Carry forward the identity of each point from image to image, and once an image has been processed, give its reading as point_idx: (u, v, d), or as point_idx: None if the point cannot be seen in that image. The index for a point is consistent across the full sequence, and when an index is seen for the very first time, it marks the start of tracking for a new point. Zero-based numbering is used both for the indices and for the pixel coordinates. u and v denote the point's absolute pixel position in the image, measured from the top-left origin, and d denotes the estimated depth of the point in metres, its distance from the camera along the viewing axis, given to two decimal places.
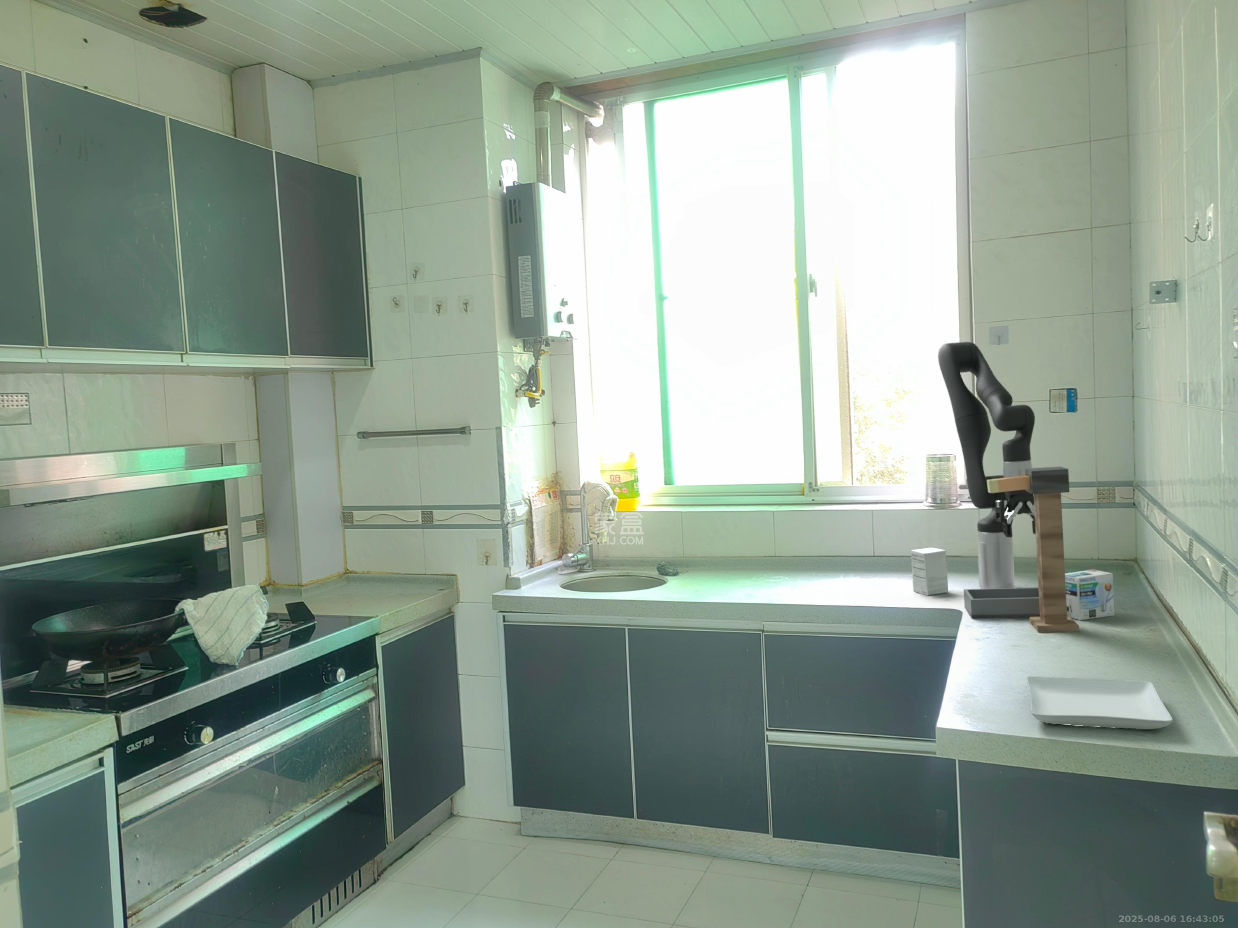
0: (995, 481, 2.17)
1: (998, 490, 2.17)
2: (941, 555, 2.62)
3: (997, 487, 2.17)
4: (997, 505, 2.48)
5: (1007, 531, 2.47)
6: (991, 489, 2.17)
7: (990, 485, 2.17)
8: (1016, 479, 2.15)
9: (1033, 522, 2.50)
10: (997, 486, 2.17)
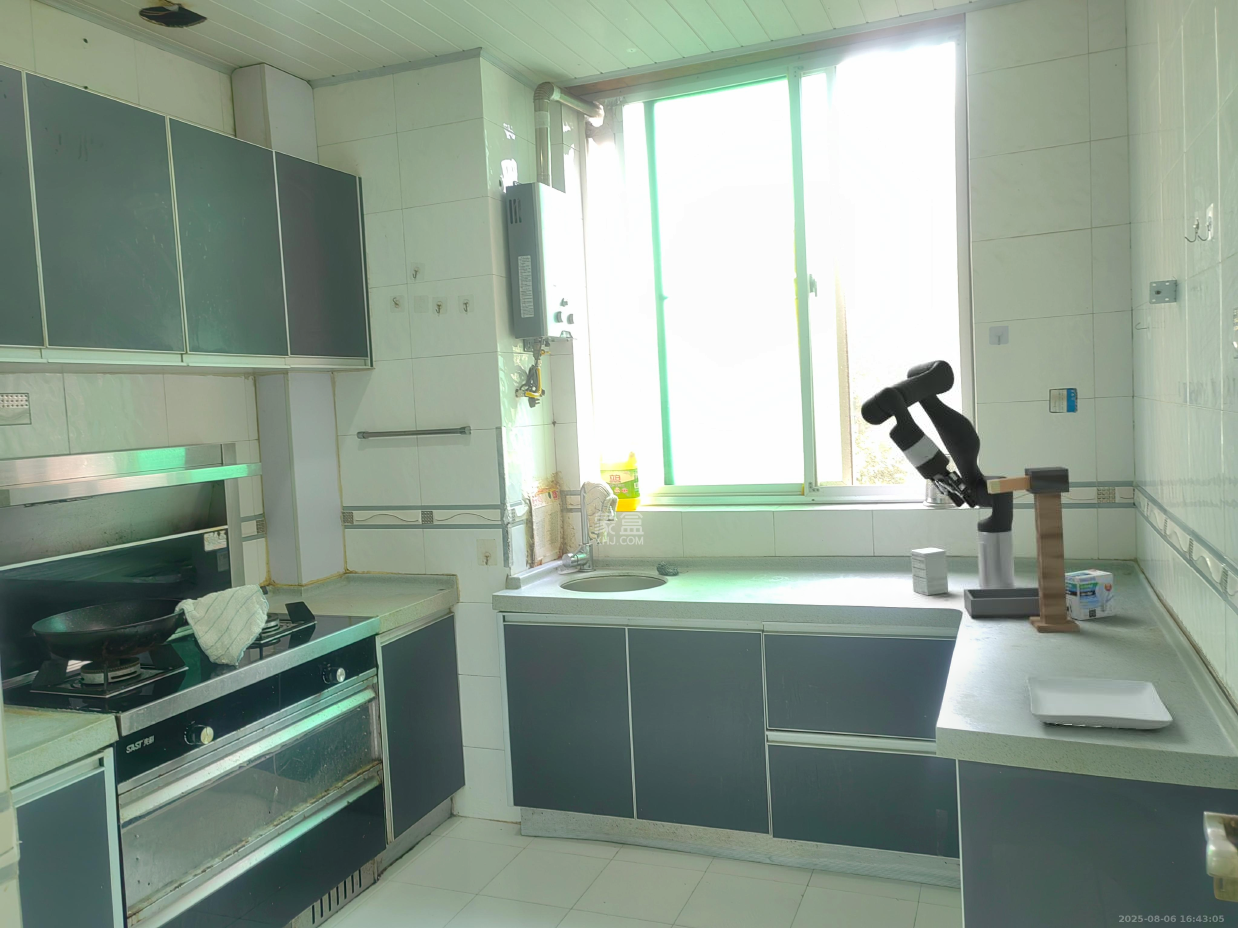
0: (996, 481, 2.15)
1: (999, 490, 2.15)
2: (941, 555, 2.62)
3: (998, 487, 2.15)
4: (954, 478, 2.16)
5: None
6: (993, 489, 2.16)
7: (992, 485, 2.16)
8: (1017, 479, 2.15)
9: (952, 496, 2.27)
10: (998, 486, 2.15)
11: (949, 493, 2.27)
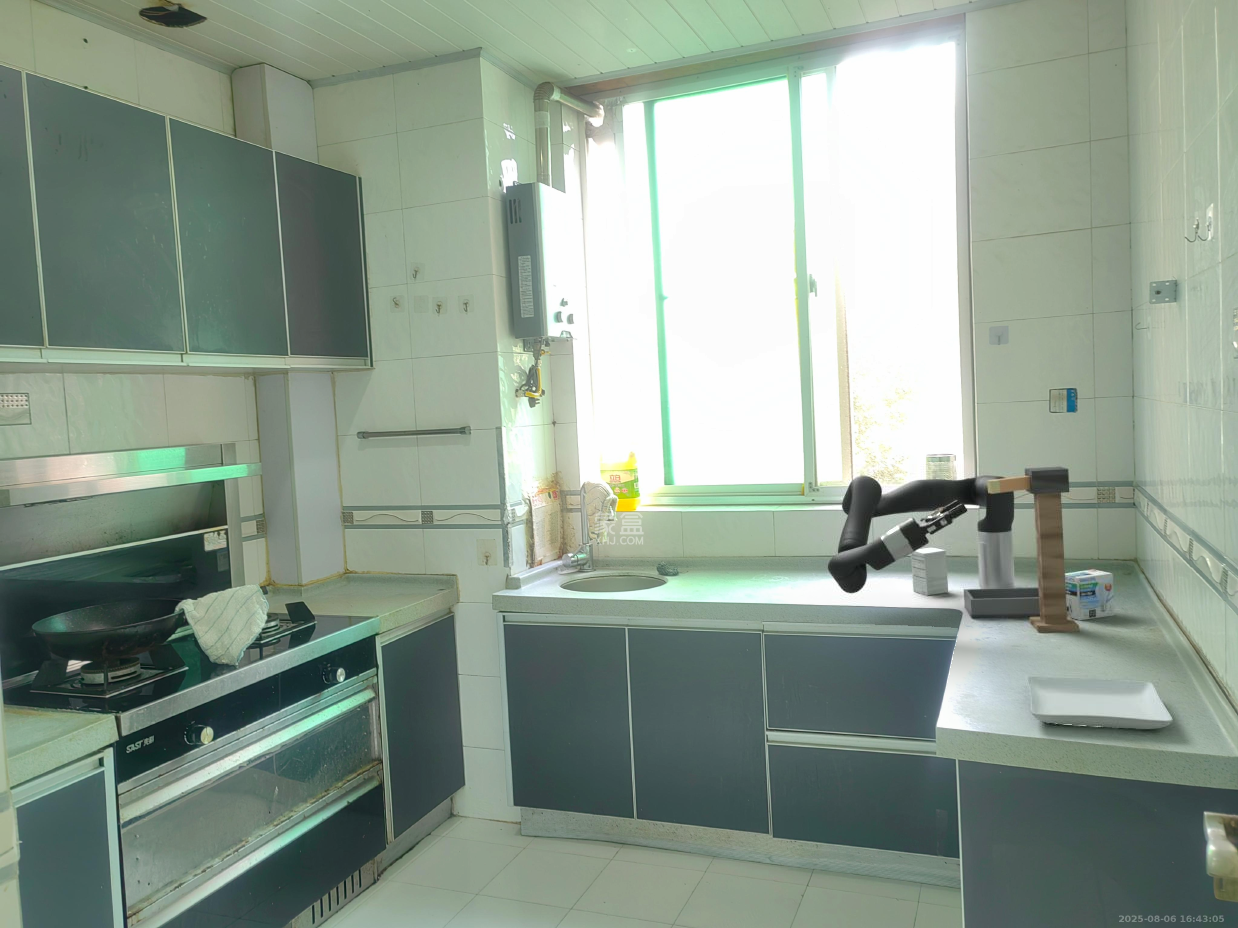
0: (996, 481, 2.15)
1: (999, 490, 2.15)
2: (941, 555, 2.62)
3: (998, 487, 2.15)
4: (933, 528, 2.15)
5: (957, 508, 2.16)
6: (993, 489, 2.16)
7: (992, 485, 2.16)
8: (1017, 479, 2.15)
9: (949, 511, 2.25)
10: (998, 486, 2.15)
11: None
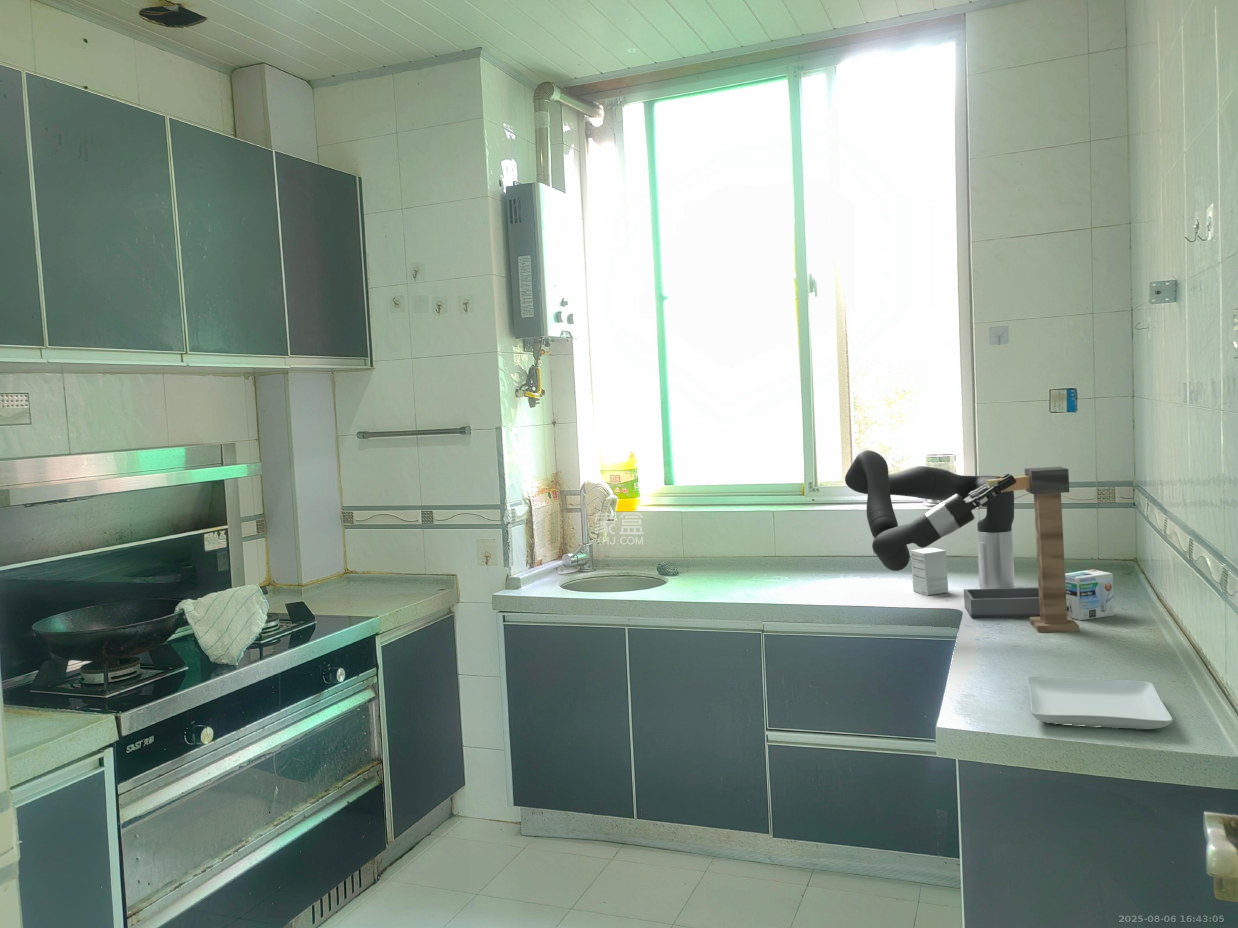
0: (995, 481, 2.17)
1: None
2: (941, 555, 2.62)
3: None
4: (986, 499, 2.13)
5: (1006, 479, 2.15)
6: None
7: (990, 485, 2.17)
8: (1016, 479, 2.15)
9: None
10: None
11: None
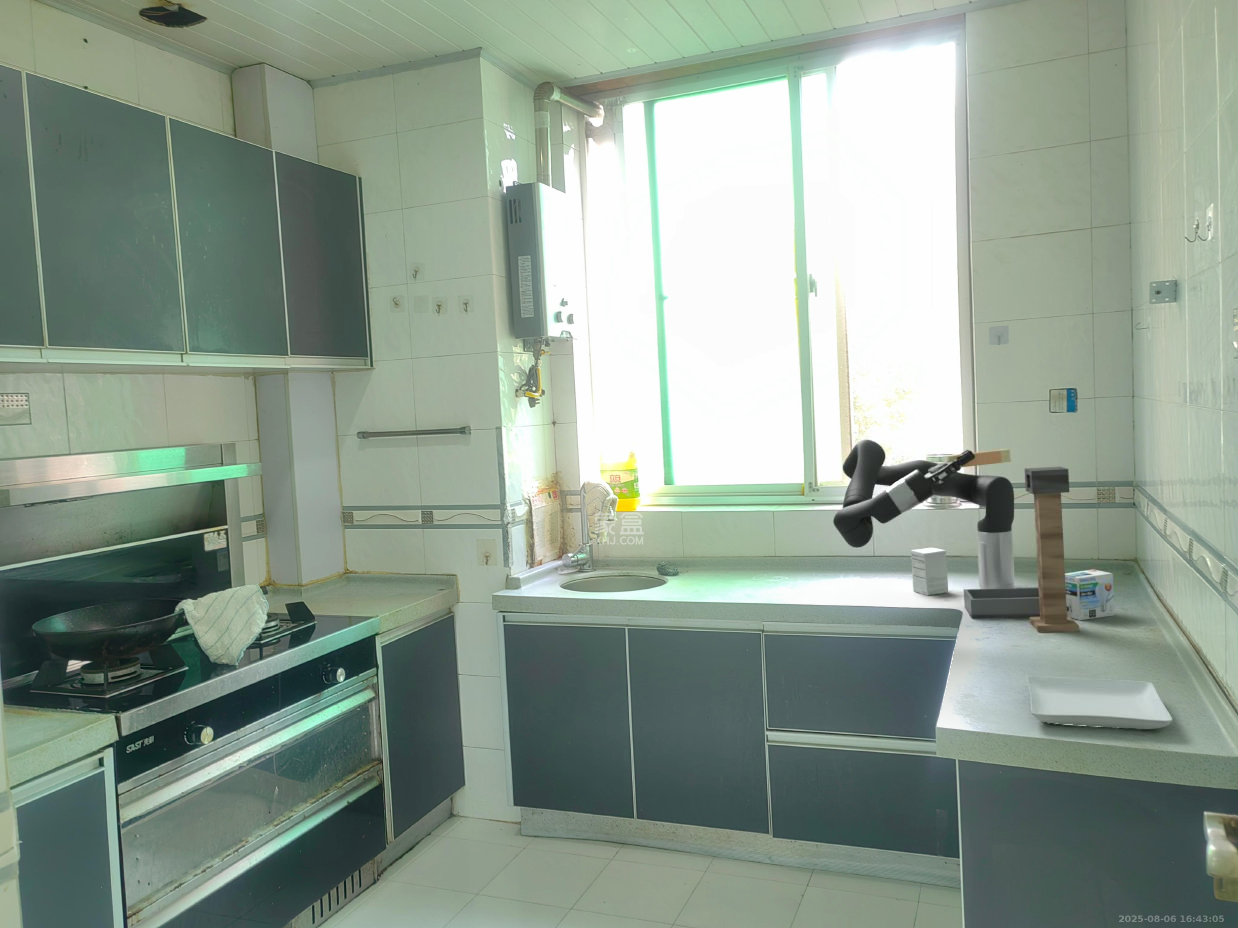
0: (954, 457, 2.19)
1: None
2: (941, 555, 2.62)
3: None
4: (945, 474, 2.15)
5: (965, 455, 2.17)
6: None
7: (949, 461, 2.19)
8: (975, 455, 2.17)
9: None
10: None
11: None
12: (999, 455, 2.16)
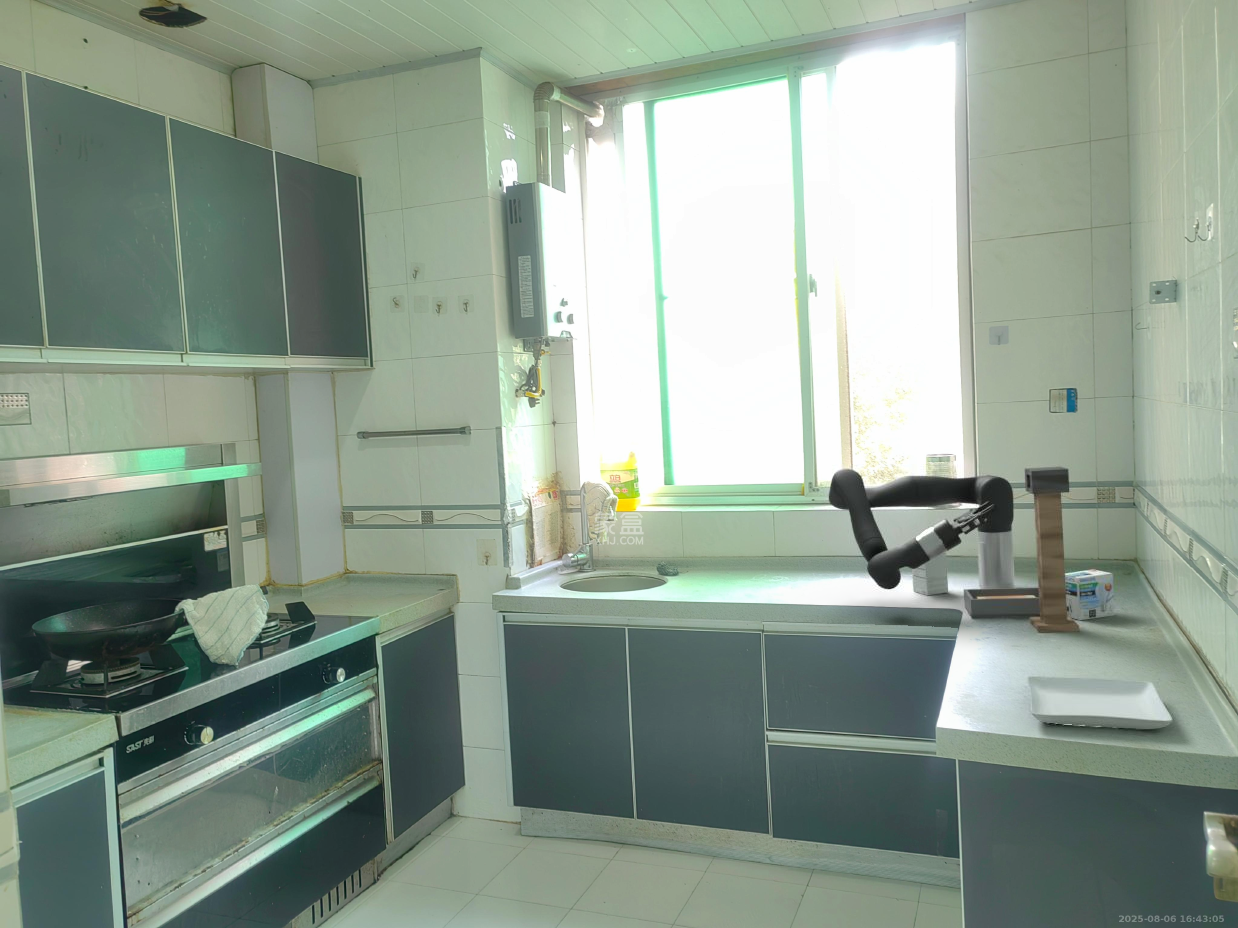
0: None
1: None
2: (942, 555, 2.62)
3: None
4: (967, 528, 2.29)
5: (989, 509, 2.30)
6: None
7: None
8: None
9: None
10: None
11: None
12: None
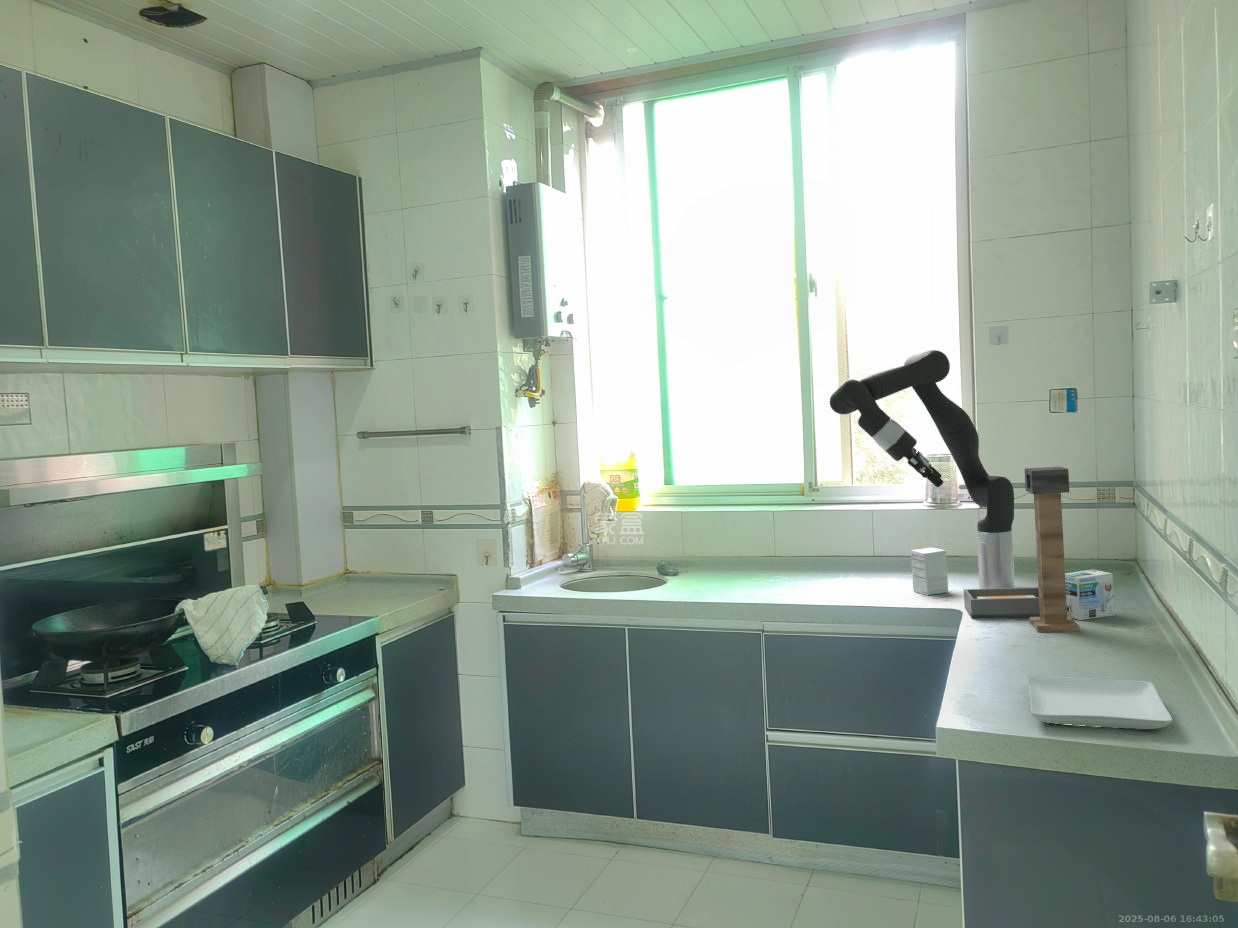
0: None
1: None
2: (941, 555, 2.62)
3: None
4: (914, 463, 2.30)
5: (938, 479, 2.31)
6: None
7: None
8: None
9: None
10: None
11: (925, 468, 2.40)
12: None
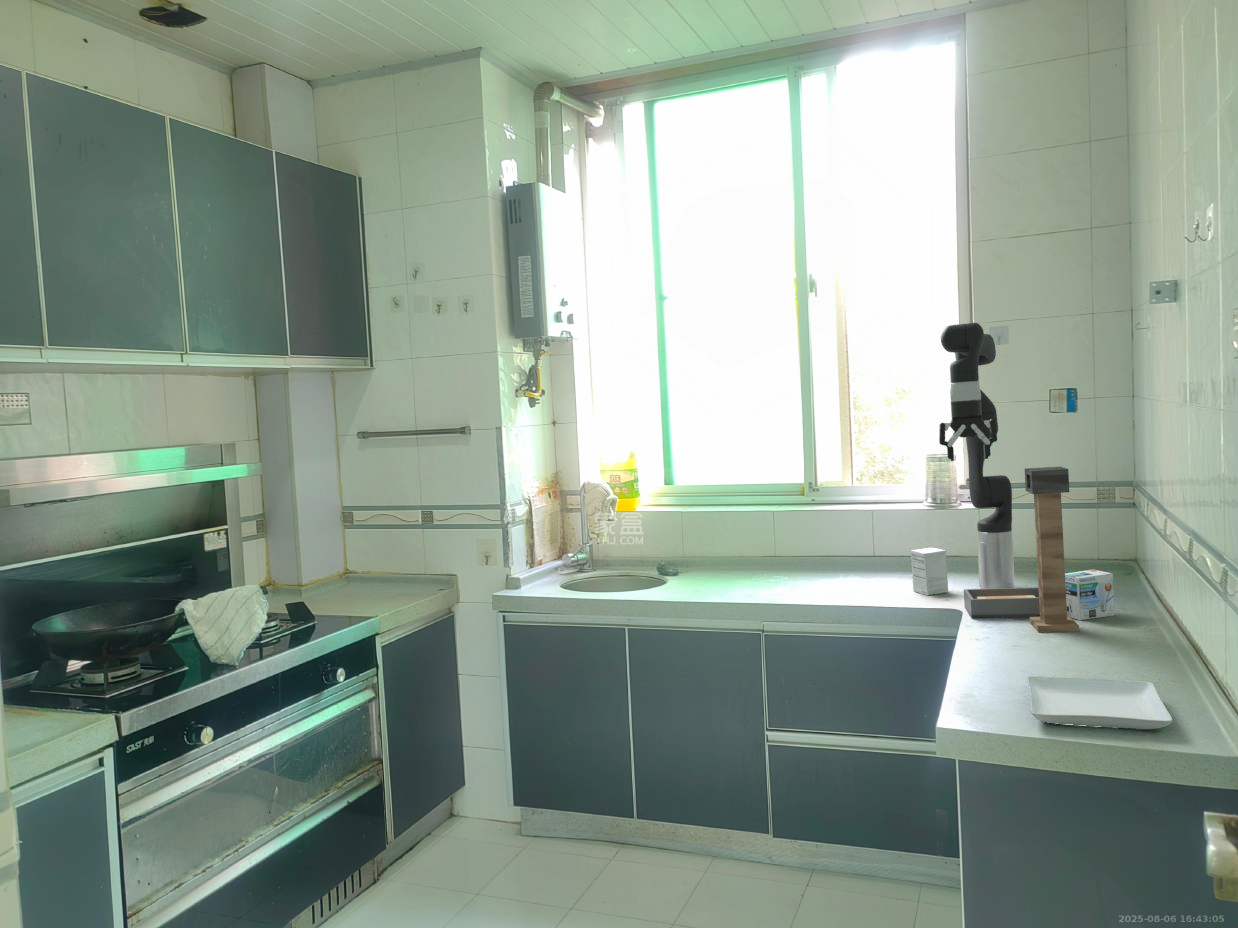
0: None
1: None
2: (941, 555, 2.62)
3: None
4: (939, 427, 2.41)
5: (949, 454, 2.40)
6: None
7: None
8: None
9: (983, 446, 2.39)
10: None
11: (984, 442, 2.39)
12: None
